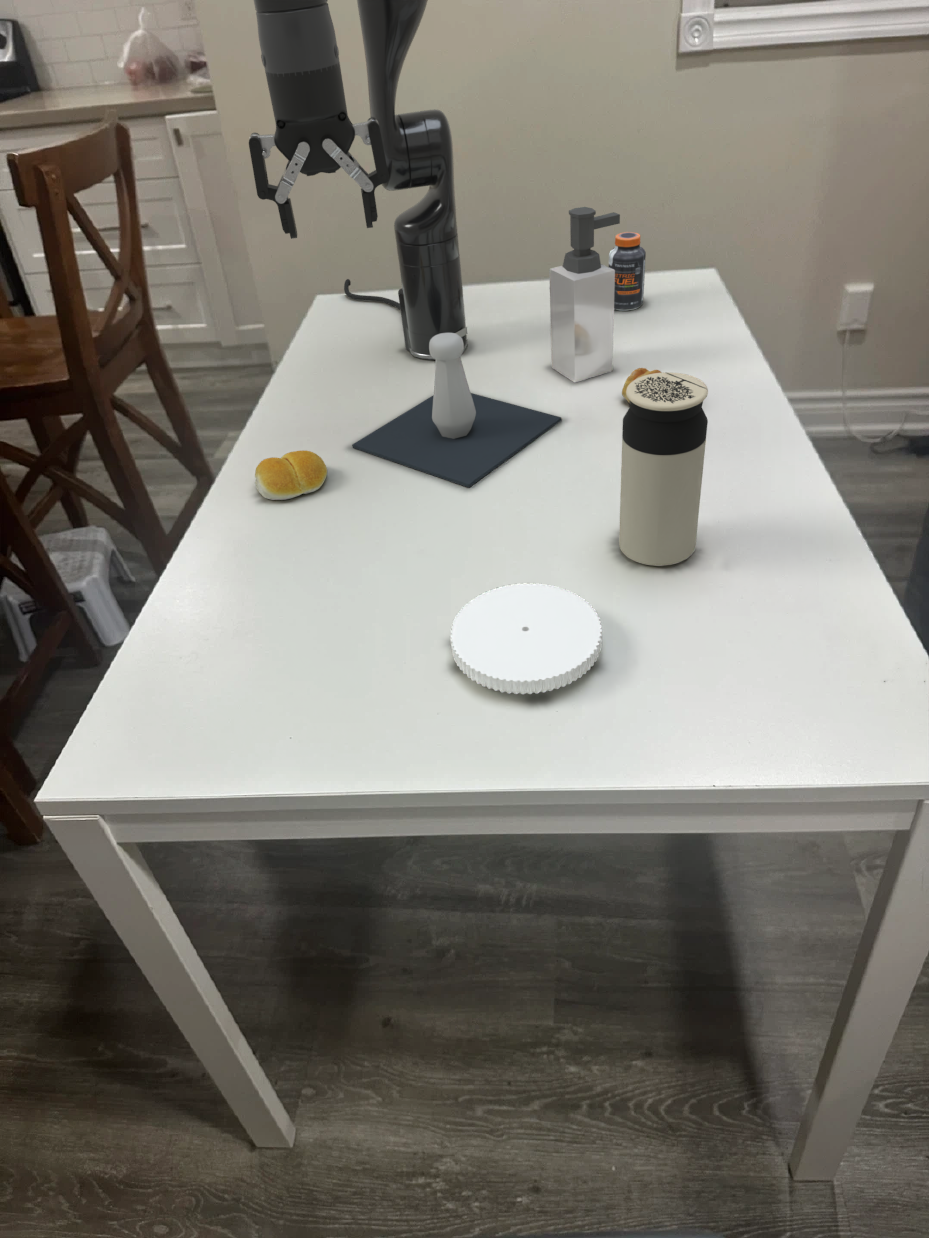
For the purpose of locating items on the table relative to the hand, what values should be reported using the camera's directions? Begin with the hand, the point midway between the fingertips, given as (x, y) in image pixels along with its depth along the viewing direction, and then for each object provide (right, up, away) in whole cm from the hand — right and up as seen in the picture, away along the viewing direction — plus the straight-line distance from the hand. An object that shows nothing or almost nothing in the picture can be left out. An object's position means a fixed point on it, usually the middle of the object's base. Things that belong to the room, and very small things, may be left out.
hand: (331, 231), depth 97 cm
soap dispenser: (+33, -6, +31) cm, 46 cm away
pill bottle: (+42, +9, +49) cm, 65 cm away
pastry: (+41, -14, +21) cm, 48 cm away
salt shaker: (+14, -19, +18) cm, 30 cm away
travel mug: (+35, -36, -5) cm, 51 cm away
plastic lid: (+21, -47, -15) cm, 53 cm away
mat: (+14, -19, +19) cm, 30 cm away
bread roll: (-7, -27, +12) cm, 30 cm away
